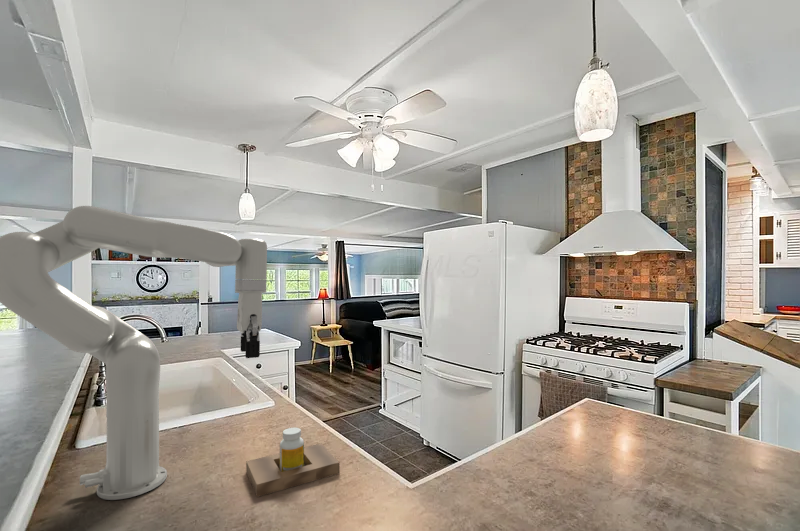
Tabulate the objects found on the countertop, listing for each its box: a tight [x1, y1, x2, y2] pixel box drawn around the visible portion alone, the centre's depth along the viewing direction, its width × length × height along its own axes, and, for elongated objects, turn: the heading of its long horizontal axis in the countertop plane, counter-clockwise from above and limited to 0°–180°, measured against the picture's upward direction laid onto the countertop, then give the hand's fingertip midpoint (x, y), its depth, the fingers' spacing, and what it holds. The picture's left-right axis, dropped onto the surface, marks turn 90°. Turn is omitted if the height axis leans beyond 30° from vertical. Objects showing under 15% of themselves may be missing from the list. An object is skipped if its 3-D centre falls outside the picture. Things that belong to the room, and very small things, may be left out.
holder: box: [245, 442, 341, 498], centre depth 90 cm, size 18×12×2 cm, turn 121°
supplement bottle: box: [279, 427, 305, 472], centre depth 90 cm, size 5×5×10 cm
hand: (249, 354), depth 101 cm, fingers open, 9 cm apart
